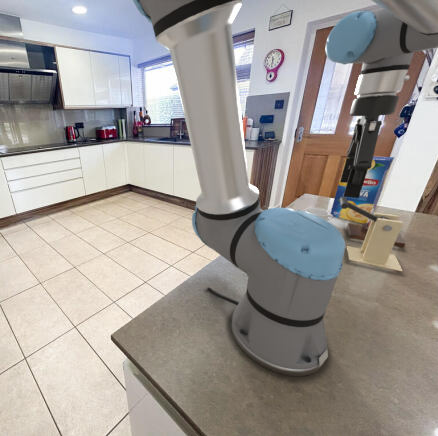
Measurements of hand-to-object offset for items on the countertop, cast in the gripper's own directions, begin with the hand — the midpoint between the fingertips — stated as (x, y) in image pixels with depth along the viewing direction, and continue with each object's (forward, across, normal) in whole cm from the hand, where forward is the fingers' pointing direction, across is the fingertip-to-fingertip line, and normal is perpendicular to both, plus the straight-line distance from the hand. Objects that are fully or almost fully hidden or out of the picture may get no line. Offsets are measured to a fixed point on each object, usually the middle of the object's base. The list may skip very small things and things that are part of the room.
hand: (348, 189), depth 60 cm
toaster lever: (+7, 0, -4) cm, 8 cm away
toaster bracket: (+19, 0, -9) cm, 21 cm away
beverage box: (+19, +32, -7) cm, 38 cm away
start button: (+15, +15, -11) cm, 24 cm away
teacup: (+19, +20, +4) cm, 28 cm away
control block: (+19, +15, -11) cm, 26 cm away
